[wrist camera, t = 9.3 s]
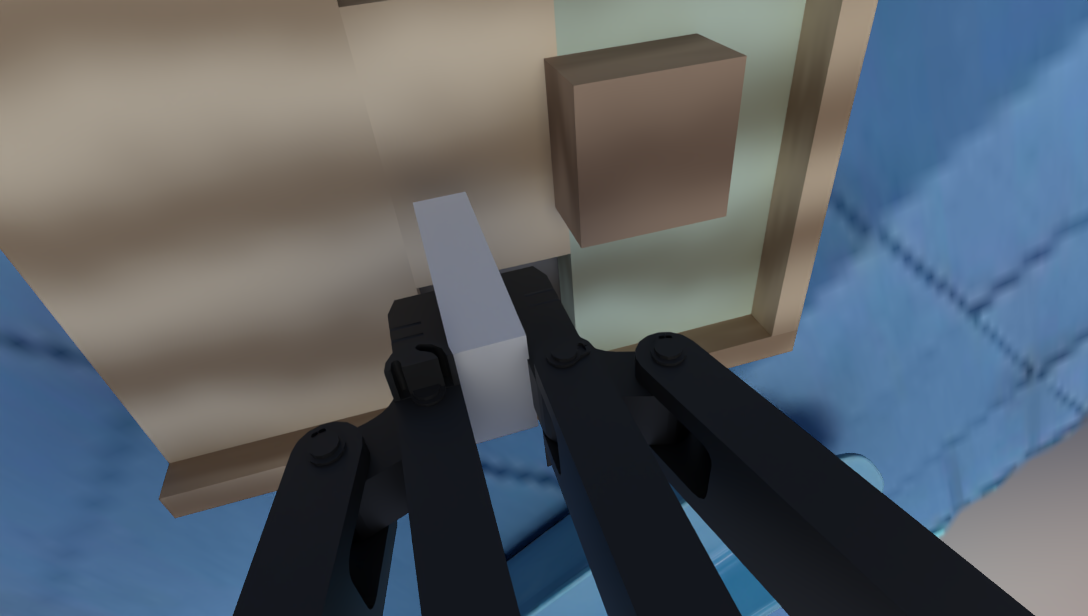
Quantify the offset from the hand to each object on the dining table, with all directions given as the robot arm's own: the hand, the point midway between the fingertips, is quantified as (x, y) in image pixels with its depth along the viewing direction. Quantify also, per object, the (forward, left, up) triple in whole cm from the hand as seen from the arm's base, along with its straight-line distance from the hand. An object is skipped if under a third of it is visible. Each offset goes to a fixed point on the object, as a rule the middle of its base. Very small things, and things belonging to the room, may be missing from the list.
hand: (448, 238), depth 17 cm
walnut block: (0, +8, -6) cm, 10 cm away
